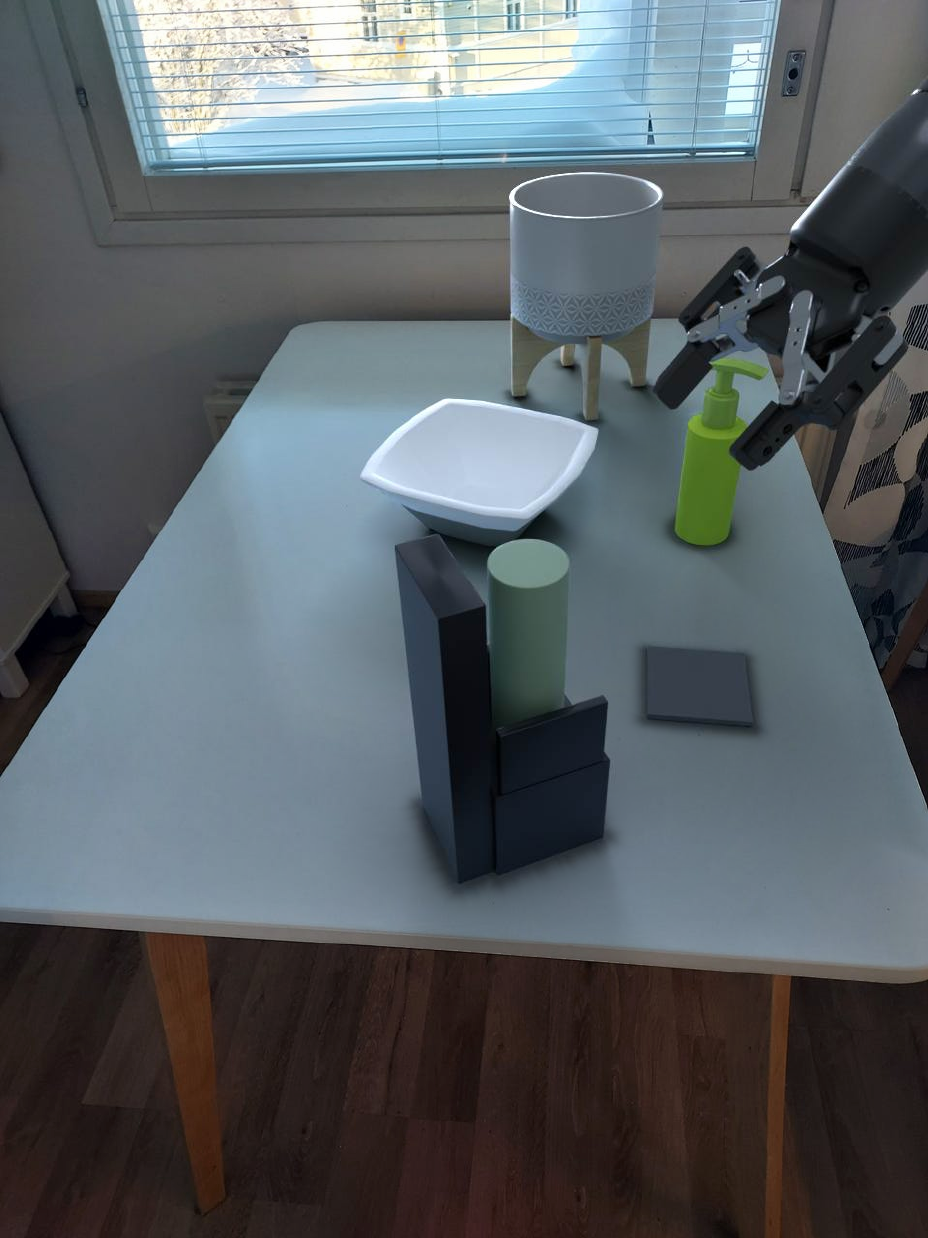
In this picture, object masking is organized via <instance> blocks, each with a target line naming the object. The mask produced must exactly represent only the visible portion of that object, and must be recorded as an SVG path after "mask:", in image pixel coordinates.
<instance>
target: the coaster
mask: <svg viewBox="0 0 928 1238" xmlns="http://www.w3.org/2000/svg"><path fill="white" fill-rule="evenodd" d="M747 668H748V667H747V660H746V653H745V652H737V651H725V650H709V649H708V650H707V649H696V648H695V649H693V648H681V647H680V648H678V647H663V646H647V647H646V718H647V719H648V720H649V719H650V720H651V719H652V720H662V721H663V720H664V721H675V722H687V723H688V722H689V723H701V724H702V723H703V724H714V725H728V726H739V727H740V726H741V727H753V725H754V718H753V717H754V716H753V709H752V701H751V692H750V685H749V676H748V669H747Z"/></svg>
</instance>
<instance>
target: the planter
mask: <svg viewBox="0 0 928 1238" xmlns="http://www.w3.org/2000/svg"><path fill="white" fill-rule="evenodd" d="M664 195H665V194H664V191H663V189H662V188H661V187H660V186H659V185H657V184H656V183H653V182H651V181H650V180H647V179H644V178H640V177H636V176H631V175H625V174H618V173H609V172H608V173H606V172H574V173H572V172H571V173H563V174H554V175H548V176H544V177H543V176H542V177H539V178H536V179H535V178H534V179H532V180H528V181H526V182H523V183H521V184H520V185H518V186H515V188H513V190H511V192H510V194H509V255H510V257H509V258H510V259H509V260H510V261H509V264H510V265H509V267H510V273H509V274H510V276H509V277H510V312H511V313H510V392H511V395H512V397H514V398H515V397H524V396H525V397H526V395H527V387H528V382H529V380H530V378H531V375H532V373H533V371H534V369H535V368H536V367H537V365H538V364H539V363H540V362H541V361H542V360H543V359H544V358H545V357H547V355H549V354H550V353H552V352H553V351H555V350H557V349H559V348H560V363H561V365H562V367H569V366H574V360H575V349H577V351H578V356H579V363H580V369H581V379H582V391H583V393H582V395H583V410H582V411H583V412H582V414H583V417H584V419H585V421H597V420H598V417H599V400H600V380H601V365H602V364H601V363H602V348H603V347H602V346H603V345H604V346H608V347H610V348H611V349H613V350H614V351H616V352H617V353H618V354H619V355H620V356H621V357H622V358H623V360H624V361H625V362H626V365H627V369H628V372H629V383H630V385H631V387H642V386H646V379H647V367H648V358H649V357H648V356H649V347H650V345H649V344H650V333H651V323H652V314H653V312H654V307H655V306H654V304H655V293H656V284H657V273H658V272H657V271H658V263H659V252H660V251H659V250H660V241H661V228H662V217H663V209H664Z"/></svg>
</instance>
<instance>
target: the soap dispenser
mask: <svg viewBox="0 0 928 1238" xmlns="http://www.w3.org/2000/svg"><path fill="white" fill-rule="evenodd" d="M709 363H710V364H711V365H712V366H713V368H712V369H711V370H710V371H716V372H715V373H716V374H715V379H714V385H713V386H711V387H708V388H707V389H705V391H704V397H703V405H702V409H701V410H702V411H701V412H700V413H697V414H695V415H693V416H691V417H690V419H689V420H688V422H687V429H686V437H685V445H684V453H683V460H682V469H681V476H680V484H679V491H678V499H677V507H676V508H677V509H676V515H675V521H674V532H675V534H676V536H678V537H679V538H680V539H681V540H683V541H684V542H686V543H688V544H692V545H695V546H696V545H697V546H716V545H718V544H721V543H722V542H724V541H725V540H726V539H727V538H728V537H729V534H730V529H731V523H732V517H733V511H734V507H735V506H734V505H735V500H736V494H737V488H738V484H739V483H738V482H739V477H740V471H741V466H742V465H741V464H739V463H738V462H737V461H736V460H735V459H734V458H733V457H732V456H731V455H730V454H729V448H730V446H731V445H732V444H733V443H734V441H735V440H736V439H737V438H738V437H739V436H740V435H741V434H742V433H743V431H744V430H745V429H746V428H747V427H748V425H747V423H746V421H745V420H744V419H742V417H739V416H737V413H738V407H739V402H740V392H739V391H738V390H737V389H735V388H734V387H733V383H734V378H735V377H734V376H735V374H738V375H742V376H746V377H749V378H751V379H754V380H756V381H761V380H763V379H765V377H766V376H767V374H768V373H769V372H770V369H768V368H766V367H764V366H762V365H760V364H757V363H755V362H752V361H748V360H745V359H741V358H733V357H727V356H725V357H723V358H721V359H719V360H716V361H714V362H709Z"/></svg>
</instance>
